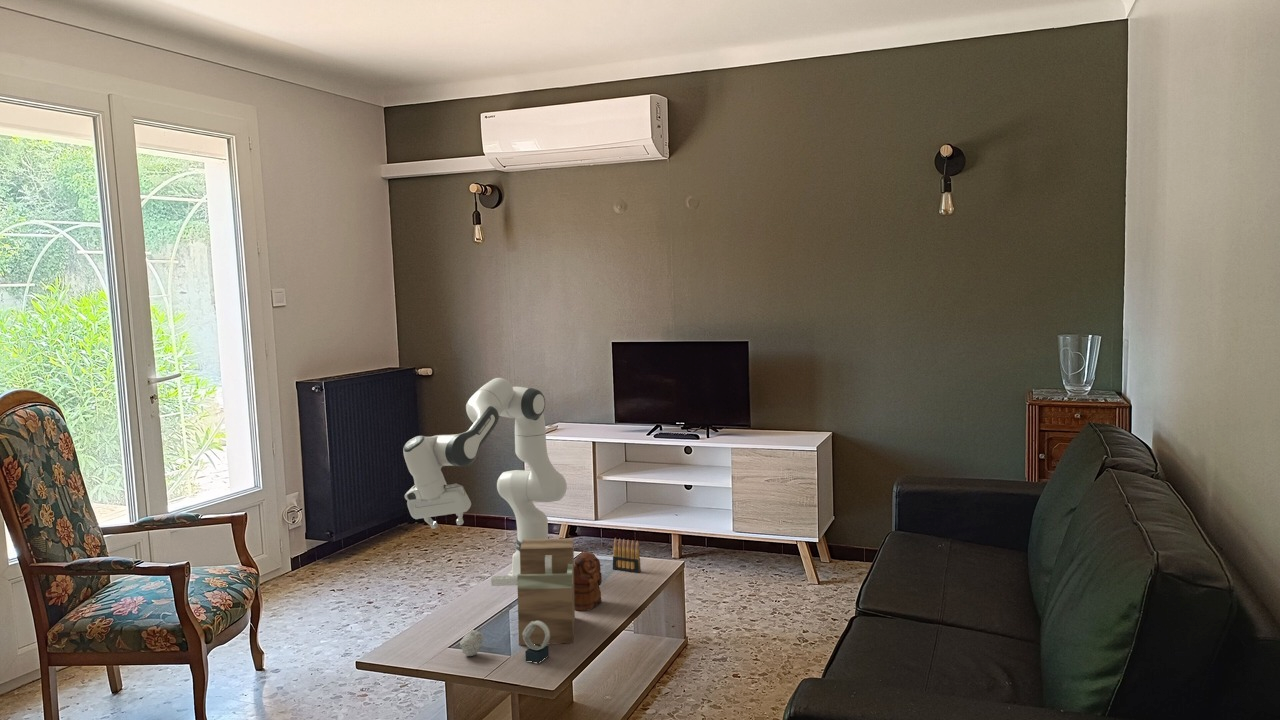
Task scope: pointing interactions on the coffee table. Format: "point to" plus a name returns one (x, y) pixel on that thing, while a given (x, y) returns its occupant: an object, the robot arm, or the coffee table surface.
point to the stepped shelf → (547, 589)
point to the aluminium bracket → (513, 579)
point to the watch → (537, 650)
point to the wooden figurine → (587, 581)
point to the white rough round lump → (471, 643)
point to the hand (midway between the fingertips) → (447, 526)
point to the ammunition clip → (626, 557)
